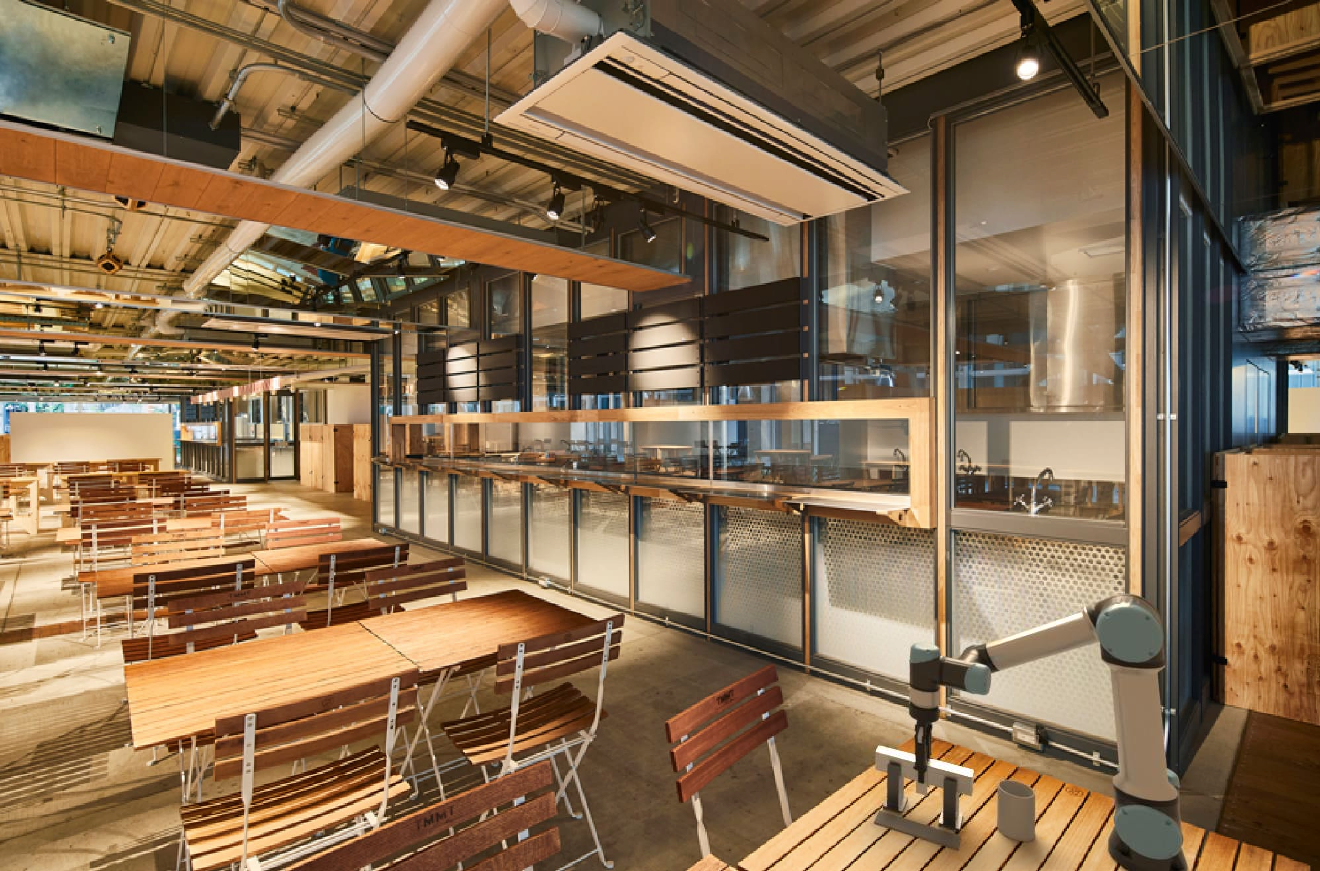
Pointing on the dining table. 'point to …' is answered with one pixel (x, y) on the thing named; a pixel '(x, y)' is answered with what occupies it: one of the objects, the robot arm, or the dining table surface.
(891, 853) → the dining table surface
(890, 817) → the plank
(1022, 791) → the grey oval cup
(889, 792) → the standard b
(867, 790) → the dining table surface
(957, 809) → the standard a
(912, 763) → the rail
